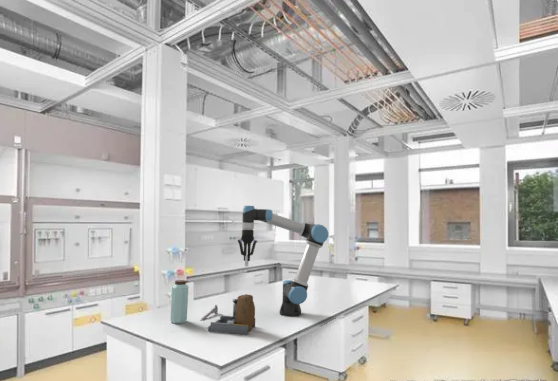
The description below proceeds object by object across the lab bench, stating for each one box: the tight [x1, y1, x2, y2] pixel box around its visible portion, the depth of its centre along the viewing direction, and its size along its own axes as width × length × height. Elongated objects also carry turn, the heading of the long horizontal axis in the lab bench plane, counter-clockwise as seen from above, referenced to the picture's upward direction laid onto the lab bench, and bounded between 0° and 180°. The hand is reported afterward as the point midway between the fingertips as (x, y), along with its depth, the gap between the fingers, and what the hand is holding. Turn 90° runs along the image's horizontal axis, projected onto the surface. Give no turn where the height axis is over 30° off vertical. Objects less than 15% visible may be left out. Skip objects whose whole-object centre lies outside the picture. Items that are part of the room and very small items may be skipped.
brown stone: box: [235, 293, 256, 332], centre depth 214 cm, size 11×8×20 cm
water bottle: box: [170, 279, 189, 325], centre depth 227 cm, size 10×10×25 cm
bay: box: [207, 314, 256, 336], centre depth 215 cm, size 23×16×5 cm
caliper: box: [200, 304, 219, 321], centre depth 240 cm, size 20×1×6 cm, turn 161°
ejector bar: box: [227, 298, 238, 324], centre depth 215 cm, size 4×18×17 cm, turn 168°
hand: (246, 266), depth 236 cm, fingers closed
